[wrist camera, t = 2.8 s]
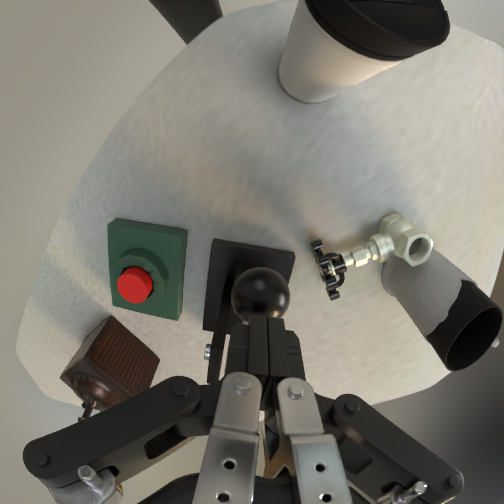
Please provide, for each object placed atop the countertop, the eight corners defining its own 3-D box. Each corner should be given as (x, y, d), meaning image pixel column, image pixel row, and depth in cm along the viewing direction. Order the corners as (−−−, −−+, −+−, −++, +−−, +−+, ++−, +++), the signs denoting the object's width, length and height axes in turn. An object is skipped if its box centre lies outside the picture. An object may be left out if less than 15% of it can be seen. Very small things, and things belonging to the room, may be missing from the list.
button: (122, 263, 27) (116, 270, 26) (152, 269, 27) (147, 277, 26) (124, 291, 29) (118, 299, 27) (152, 298, 29) (147, 306, 27)
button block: (116, 218, 29) (99, 229, 25) (187, 229, 30) (178, 242, 26) (119, 296, 33) (106, 313, 30) (181, 310, 34) (174, 330, 30)
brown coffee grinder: (81, 340, 37) (30, 418, 21) (111, 312, 34) (49, 407, 18) (147, 396, 42) (119, 477, 25) (186, 378, 39) (162, 477, 22)
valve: (400, 196, 27) (305, 231, 29) (431, 212, 21) (317, 256, 23) (409, 246, 30) (322, 281, 32) (437, 270, 24) (335, 313, 26)
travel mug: (266, 57, 22) (279, -73, 4) (327, 46, 21) (420, -59, 3) (285, 111, 24) (348, 45, 6) (346, 98, 23) (483, 51, 5)
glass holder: (405, 225, 29) (485, 287, 15) (465, 266, 31) (528, 323, 17) (369, 285, 32) (422, 371, 18) (434, 314, 34) (483, 381, 20)
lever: (238, 250, 15) (229, 301, 13) (296, 260, 15) (296, 311, 13) (223, 343, 24) (218, 375, 22) (257, 348, 24) (254, 380, 22)
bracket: (213, 238, 30) (186, 303, 18) (294, 252, 30) (314, 323, 18) (203, 324, 34) (183, 402, 23) (271, 335, 35) (275, 415, 23)
